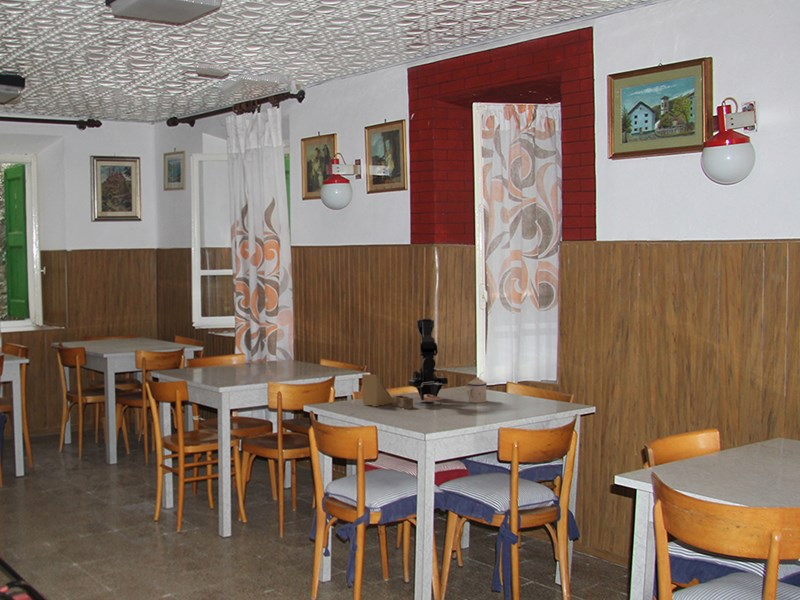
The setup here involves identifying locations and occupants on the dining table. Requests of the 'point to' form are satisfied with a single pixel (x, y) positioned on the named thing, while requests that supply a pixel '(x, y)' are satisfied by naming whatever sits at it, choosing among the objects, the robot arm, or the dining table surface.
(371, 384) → the sandwich container
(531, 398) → the dining table surface
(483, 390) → the white printed mug
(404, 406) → the tea box
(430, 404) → the coaster
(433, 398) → the lid
